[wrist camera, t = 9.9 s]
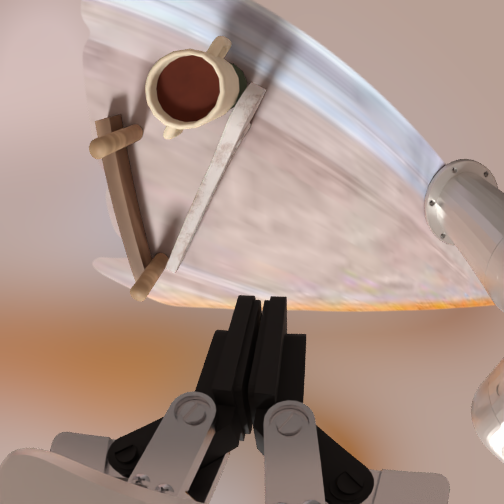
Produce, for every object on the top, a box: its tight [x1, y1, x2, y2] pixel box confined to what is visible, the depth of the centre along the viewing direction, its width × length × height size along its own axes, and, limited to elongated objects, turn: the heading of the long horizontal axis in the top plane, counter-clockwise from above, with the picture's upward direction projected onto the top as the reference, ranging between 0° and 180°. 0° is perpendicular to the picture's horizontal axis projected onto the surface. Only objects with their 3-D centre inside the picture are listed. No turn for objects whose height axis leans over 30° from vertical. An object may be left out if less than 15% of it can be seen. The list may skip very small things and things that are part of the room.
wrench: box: [166, 82, 266, 273], centre depth 37 cm, size 8×2×30 cm
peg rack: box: [89, 115, 169, 301], centre depth 39 cm, size 5×26×9 cm, turn 4°
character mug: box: [145, 36, 247, 139], centre depth 27 cm, size 11×7×13 cm, turn 149°
